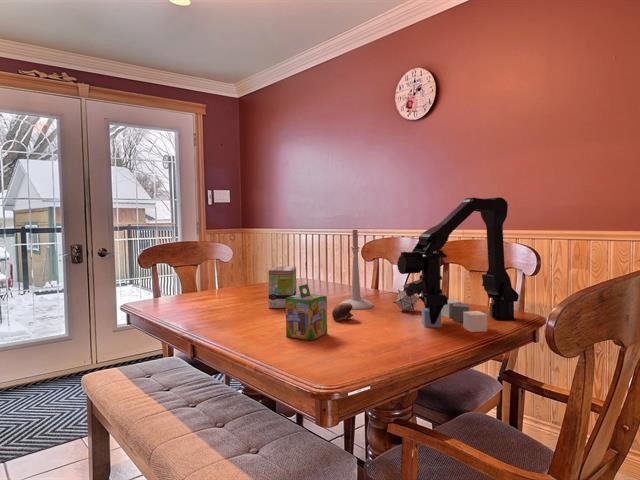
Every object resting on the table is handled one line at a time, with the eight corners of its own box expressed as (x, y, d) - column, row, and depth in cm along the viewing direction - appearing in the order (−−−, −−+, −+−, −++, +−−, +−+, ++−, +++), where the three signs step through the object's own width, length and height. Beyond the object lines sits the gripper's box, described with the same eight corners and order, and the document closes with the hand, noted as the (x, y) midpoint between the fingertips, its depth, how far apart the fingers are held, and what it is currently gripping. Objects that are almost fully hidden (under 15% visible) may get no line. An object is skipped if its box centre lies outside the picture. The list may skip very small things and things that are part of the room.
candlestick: (378, 304, 165) (377, 228, 163) (363, 311, 154) (362, 229, 153) (349, 301, 172) (348, 228, 170) (333, 307, 161) (332, 229, 160)
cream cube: (479, 327, 130) (479, 311, 129) (487, 331, 125) (487, 314, 124) (463, 327, 129) (463, 311, 129) (470, 332, 124) (470, 315, 124)
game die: (411, 322, 152) (419, 303, 145) (388, 313, 153) (396, 294, 147) (415, 306, 158) (423, 287, 152) (393, 297, 160) (401, 279, 154)
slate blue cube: (437, 323, 135) (437, 307, 135) (441, 327, 130) (441, 311, 130) (421, 323, 135) (421, 308, 135) (424, 327, 130) (424, 311, 130)
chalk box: (311, 341, 117) (310, 288, 116) (285, 337, 122) (283, 286, 121) (328, 333, 125) (327, 284, 124) (303, 329, 129) (302, 282, 129)
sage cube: (451, 313, 148) (451, 299, 148) (461, 316, 143) (461, 302, 143) (439, 315, 146) (439, 300, 146) (449, 318, 142) (449, 303, 141)
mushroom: (361, 309, 143) (350, 294, 142) (354, 322, 136) (342, 308, 135) (344, 317, 147) (333, 303, 146) (336, 331, 141) (324, 317, 140)
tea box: (294, 308, 161) (293, 269, 161) (268, 308, 161) (267, 270, 161) (297, 300, 176) (296, 265, 176) (273, 301, 176) (272, 265, 176)
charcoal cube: (469, 318, 140) (469, 303, 140) (469, 322, 136) (469, 306, 135) (453, 317, 142) (453, 303, 142) (452, 321, 137) (452, 306, 137)
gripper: (401, 269, 142) (401, 315, 142) (409, 276, 123) (409, 329, 124) (434, 268, 141) (435, 315, 142) (448, 276, 122) (448, 329, 123)
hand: (431, 321), depth 133 cm, fingers open, 5 cm apart
